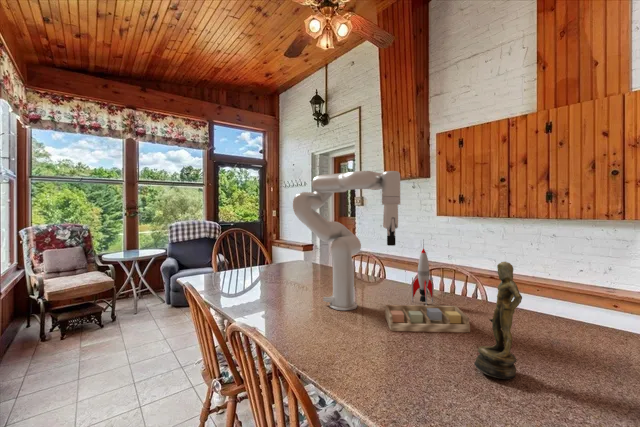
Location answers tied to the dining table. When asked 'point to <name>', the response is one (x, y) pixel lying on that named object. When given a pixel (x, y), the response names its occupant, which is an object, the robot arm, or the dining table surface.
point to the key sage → (415, 316)
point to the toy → (423, 278)
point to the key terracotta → (397, 316)
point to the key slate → (434, 314)
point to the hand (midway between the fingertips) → (391, 245)
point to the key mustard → (453, 316)
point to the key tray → (426, 319)
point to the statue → (498, 356)
